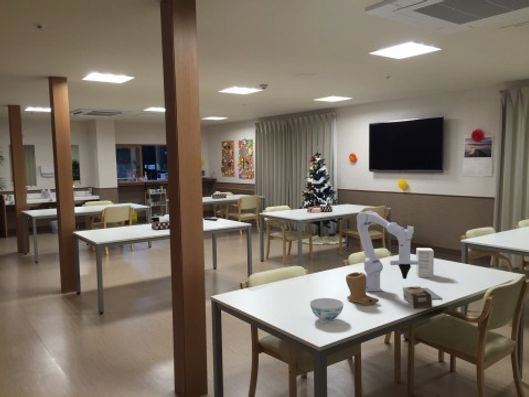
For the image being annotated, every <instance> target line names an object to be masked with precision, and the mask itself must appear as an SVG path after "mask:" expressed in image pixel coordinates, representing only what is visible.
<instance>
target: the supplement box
mask: <svg viewBox="0 0 529 397" xmlns="http://www.w3.org/2000/svg"><path fill="white" fill-rule="evenodd" d="M434 254H435V252H434V249H432V248H431V247H416V252H415V255H416V258H415V260H418V261H419V265H415V266H416V267H415V268H416V269H415V270H416V271H415V274H416V276H417V277H418V278H434V275H435V274H434V271H435V270H434V260H435V259H434V257H435V256H434Z"/></svg>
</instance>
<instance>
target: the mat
mask: <svg viewBox="0 0 529 397" xmlns="http://www.w3.org/2000/svg"><path fill="white" fill-rule="evenodd" d="M422 288H423V289H424V290H425V291H427V292H428V293H429V294H431V299H432V301H433V300H443V297H441V296H440V295H438V294H437V293H435V292H434V291H433V290H431V289H430V288H428V287H422Z"/></svg>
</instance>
